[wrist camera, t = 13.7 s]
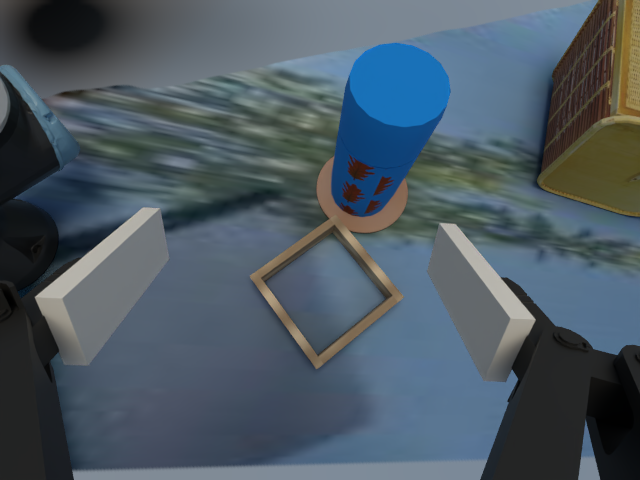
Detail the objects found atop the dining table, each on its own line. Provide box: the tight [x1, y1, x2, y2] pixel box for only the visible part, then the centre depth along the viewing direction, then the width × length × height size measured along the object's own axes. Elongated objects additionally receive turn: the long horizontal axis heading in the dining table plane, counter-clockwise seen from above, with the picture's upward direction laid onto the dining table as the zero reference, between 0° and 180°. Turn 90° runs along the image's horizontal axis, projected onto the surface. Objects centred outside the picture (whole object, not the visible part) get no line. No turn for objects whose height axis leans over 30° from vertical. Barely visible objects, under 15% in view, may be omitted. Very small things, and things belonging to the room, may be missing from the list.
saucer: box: [317, 157, 408, 233], centre depth 58 cm, size 16×16×1 cm
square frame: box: [250, 215, 404, 369], centre depth 51 cm, size 16×16×4 cm
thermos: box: [331, 43, 451, 217], centre depth 46 cm, size 11×11×25 cm
